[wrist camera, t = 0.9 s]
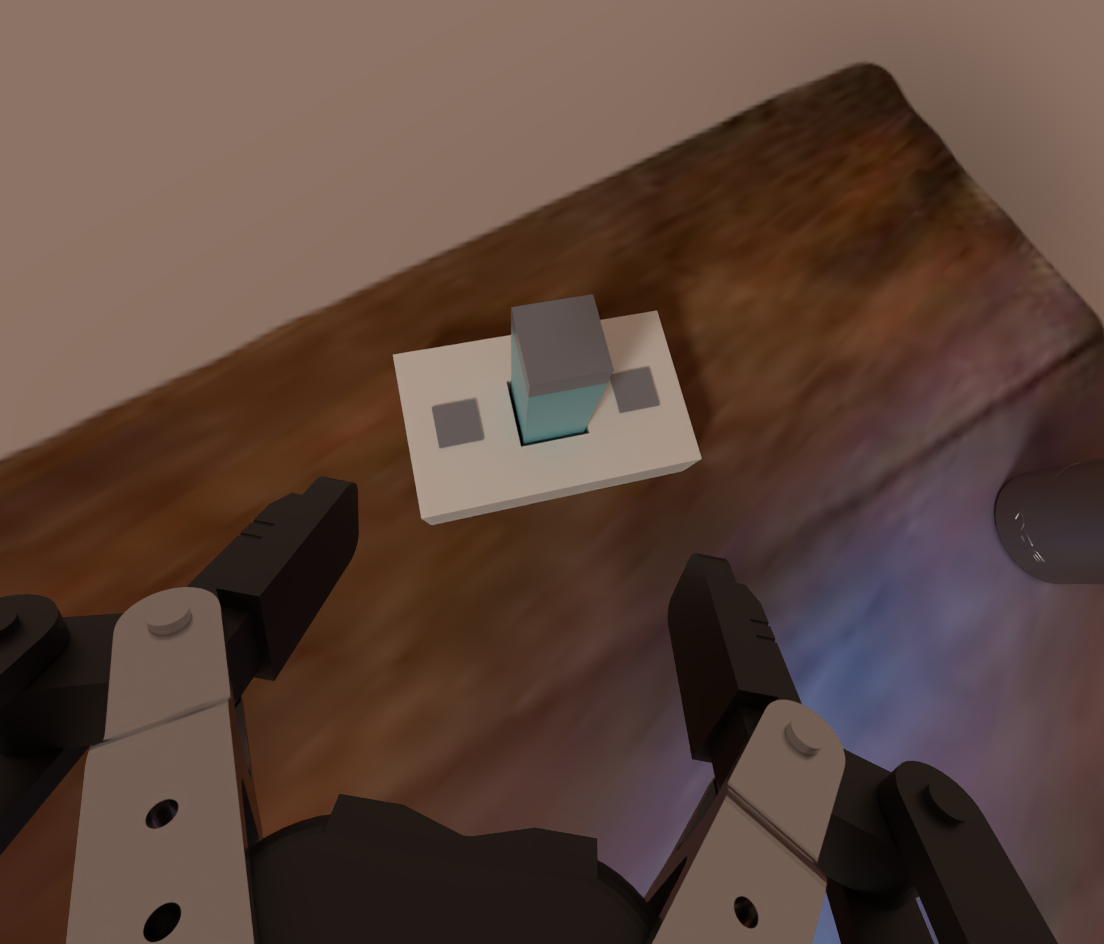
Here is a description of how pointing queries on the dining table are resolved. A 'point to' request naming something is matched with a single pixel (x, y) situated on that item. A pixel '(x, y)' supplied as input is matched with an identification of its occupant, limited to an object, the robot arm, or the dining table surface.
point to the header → (550, 467)
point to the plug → (557, 367)
